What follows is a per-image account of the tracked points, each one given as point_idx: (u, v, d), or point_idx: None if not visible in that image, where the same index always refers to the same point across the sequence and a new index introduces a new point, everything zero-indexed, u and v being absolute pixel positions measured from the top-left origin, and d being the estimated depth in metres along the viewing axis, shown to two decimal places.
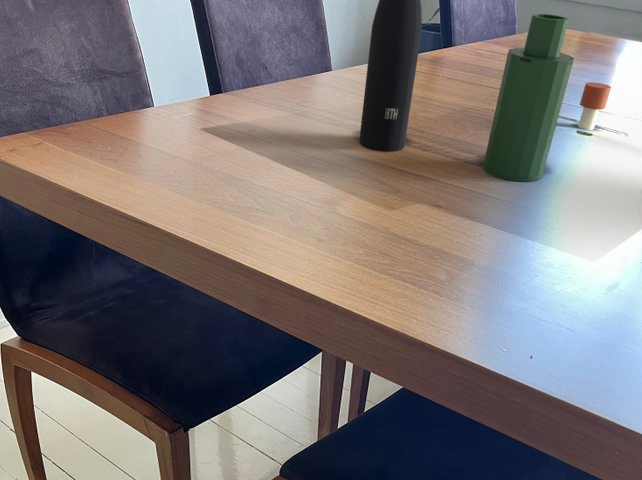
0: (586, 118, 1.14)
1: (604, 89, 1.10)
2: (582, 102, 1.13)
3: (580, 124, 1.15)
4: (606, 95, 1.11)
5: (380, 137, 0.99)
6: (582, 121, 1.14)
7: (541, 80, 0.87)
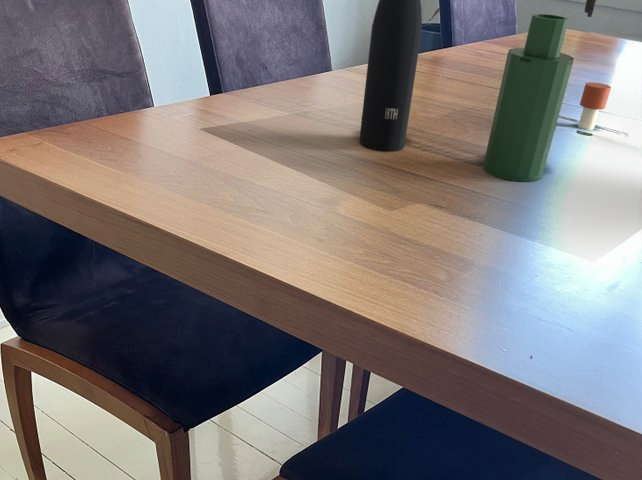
0: (586, 118, 1.14)
1: (604, 89, 1.10)
2: (582, 102, 1.13)
3: (580, 124, 1.15)
4: (606, 95, 1.11)
5: (380, 137, 0.99)
6: (582, 121, 1.14)
7: (541, 80, 0.87)
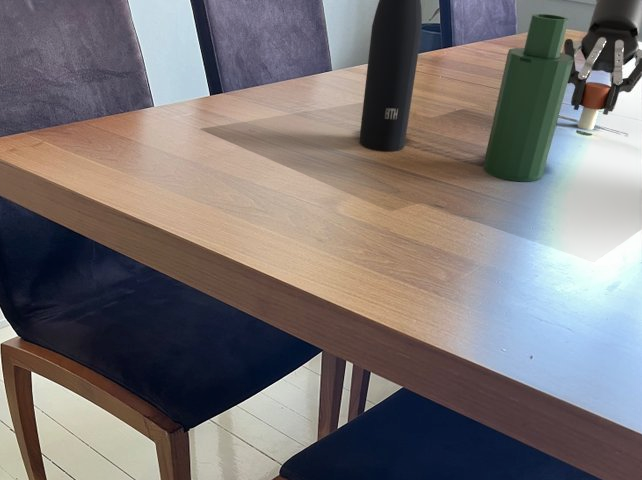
0: (585, 118, 1.14)
1: (604, 89, 1.10)
2: (582, 102, 1.13)
3: (580, 124, 1.15)
4: (606, 95, 1.11)
5: (380, 137, 0.99)
6: (582, 121, 1.14)
7: (541, 80, 0.87)
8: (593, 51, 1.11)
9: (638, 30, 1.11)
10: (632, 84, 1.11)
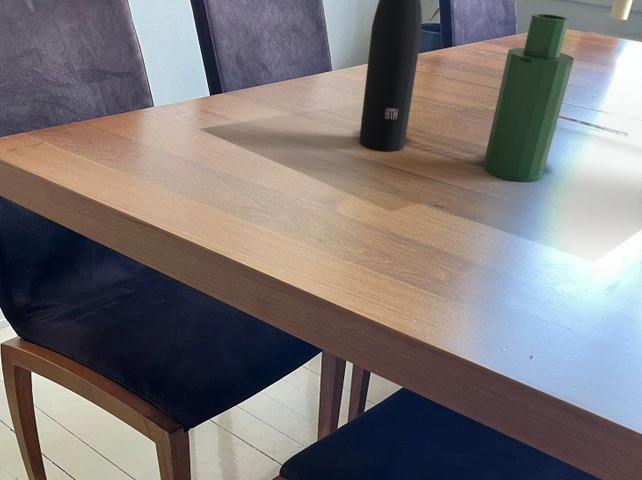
0: None
1: None
2: None
3: (614, 7, 1.05)
4: None
5: (380, 137, 0.99)
6: (616, 3, 1.04)
7: (541, 80, 0.87)
8: None
9: None
10: None
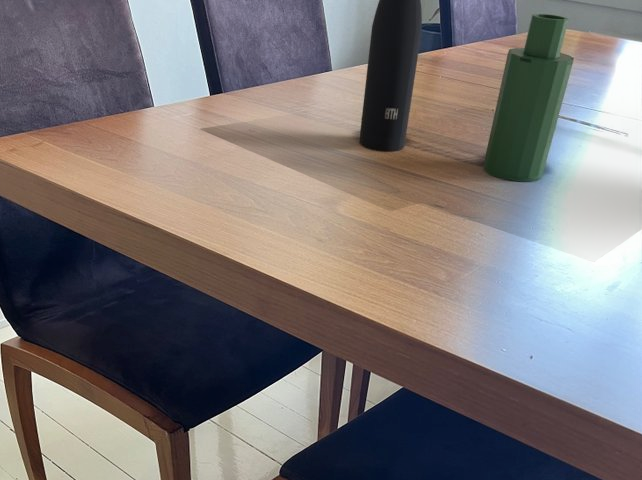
0: None
1: None
2: None
3: None
4: None
5: (380, 137, 0.99)
6: None
7: (541, 80, 0.87)
8: None
9: None
10: None
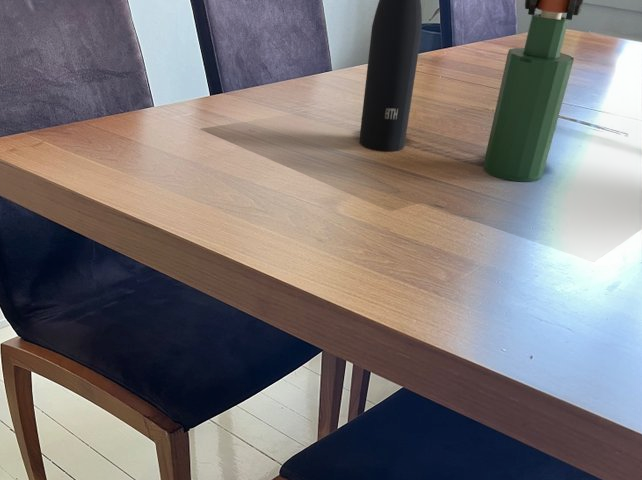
0: None
1: None
2: (538, 4, 0.85)
3: None
4: None
5: (380, 137, 0.99)
6: None
7: (541, 80, 0.87)
8: None
9: None
10: None
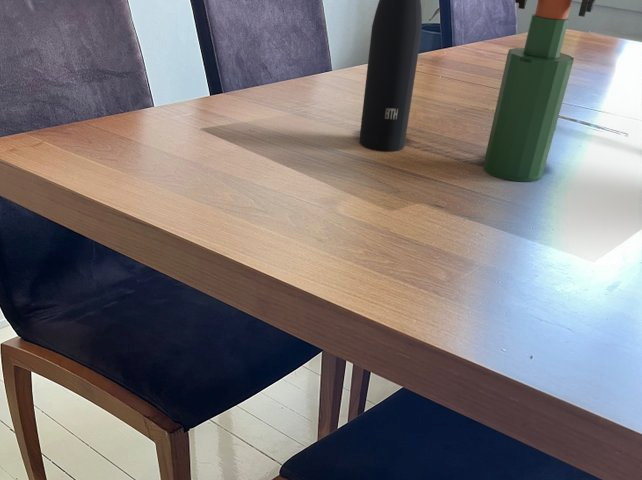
0: None
1: None
2: (537, 11, 0.85)
3: None
4: None
5: (380, 137, 0.99)
6: None
7: (541, 80, 0.87)
8: None
9: None
10: None
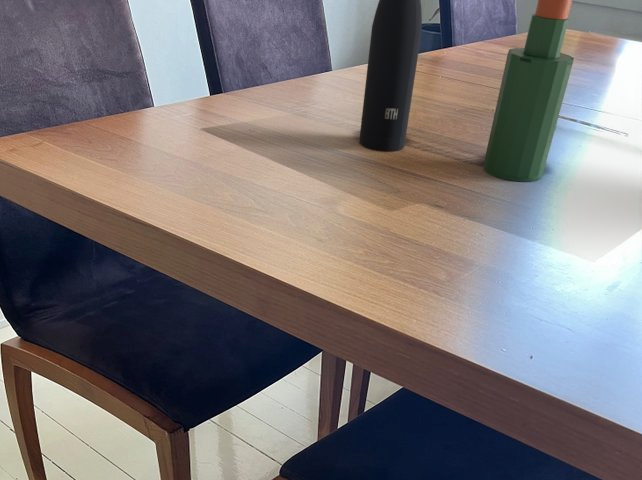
0: None
1: None
2: (537, 11, 0.85)
3: None
4: None
5: (380, 137, 0.99)
6: None
7: (541, 80, 0.87)
8: None
9: None
10: None
